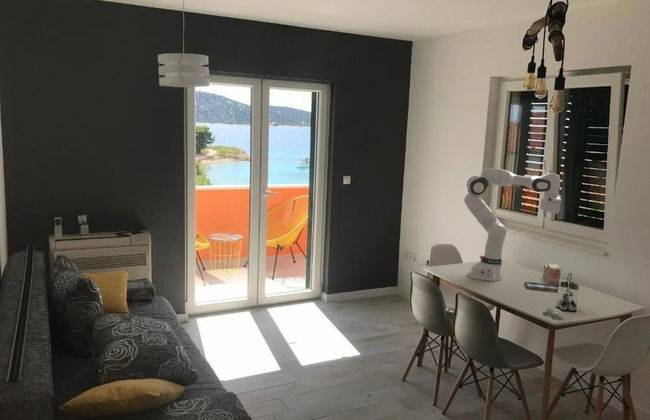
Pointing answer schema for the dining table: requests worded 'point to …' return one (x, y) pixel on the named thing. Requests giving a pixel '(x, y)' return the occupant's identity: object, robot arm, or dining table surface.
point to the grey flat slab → (541, 286)
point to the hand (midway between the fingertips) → (548, 218)
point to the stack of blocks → (552, 274)
